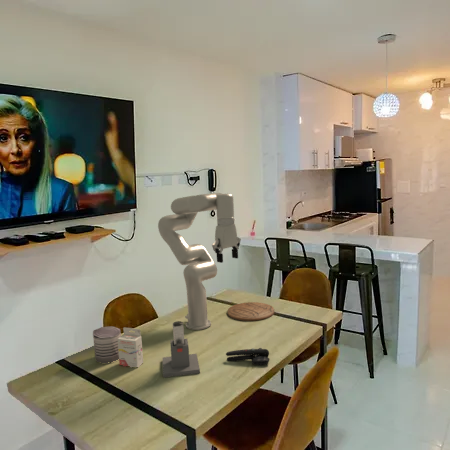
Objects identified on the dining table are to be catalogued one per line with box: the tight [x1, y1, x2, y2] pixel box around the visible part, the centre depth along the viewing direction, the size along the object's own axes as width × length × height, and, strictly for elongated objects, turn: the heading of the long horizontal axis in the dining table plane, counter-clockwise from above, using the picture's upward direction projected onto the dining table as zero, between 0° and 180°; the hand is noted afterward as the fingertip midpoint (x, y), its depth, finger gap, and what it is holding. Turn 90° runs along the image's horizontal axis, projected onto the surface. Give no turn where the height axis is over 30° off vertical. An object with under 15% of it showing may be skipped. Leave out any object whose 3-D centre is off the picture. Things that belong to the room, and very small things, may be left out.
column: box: [172, 320, 185, 346], centre depth 164 cm, size 4×4×17 cm
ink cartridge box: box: [118, 327, 144, 368], centre depth 168 cm, size 9×5×15 cm, turn 71°
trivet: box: [227, 301, 275, 322], centre depth 222 cm, size 25×25×2 cm
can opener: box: [225, 347, 270, 366], centre depth 167 cm, size 18×7×6 cm, turn 77°
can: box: [92, 326, 122, 364], centre depth 176 cm, size 11×11×12 cm
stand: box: [162, 338, 201, 378], centre depth 164 cm, size 14×14×11 cm
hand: (227, 260), depth 185 cm, fingers open, 9 cm apart
